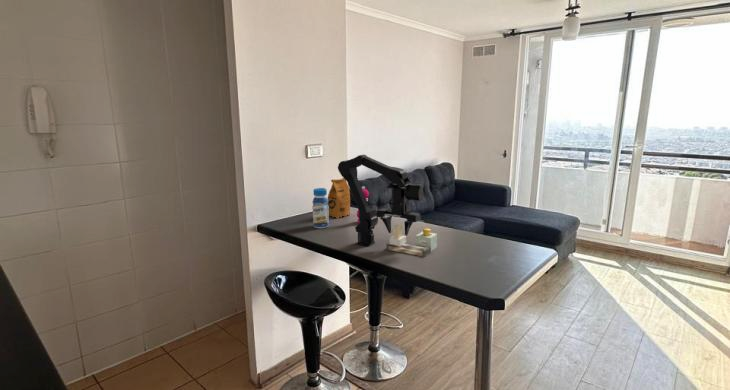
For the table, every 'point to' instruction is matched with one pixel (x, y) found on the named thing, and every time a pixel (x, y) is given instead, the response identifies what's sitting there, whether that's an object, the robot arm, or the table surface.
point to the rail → (410, 249)
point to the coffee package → (339, 198)
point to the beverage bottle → (320, 208)
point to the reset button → (426, 232)
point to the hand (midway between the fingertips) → (398, 234)
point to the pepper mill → (365, 197)
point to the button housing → (426, 240)
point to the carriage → (398, 236)
